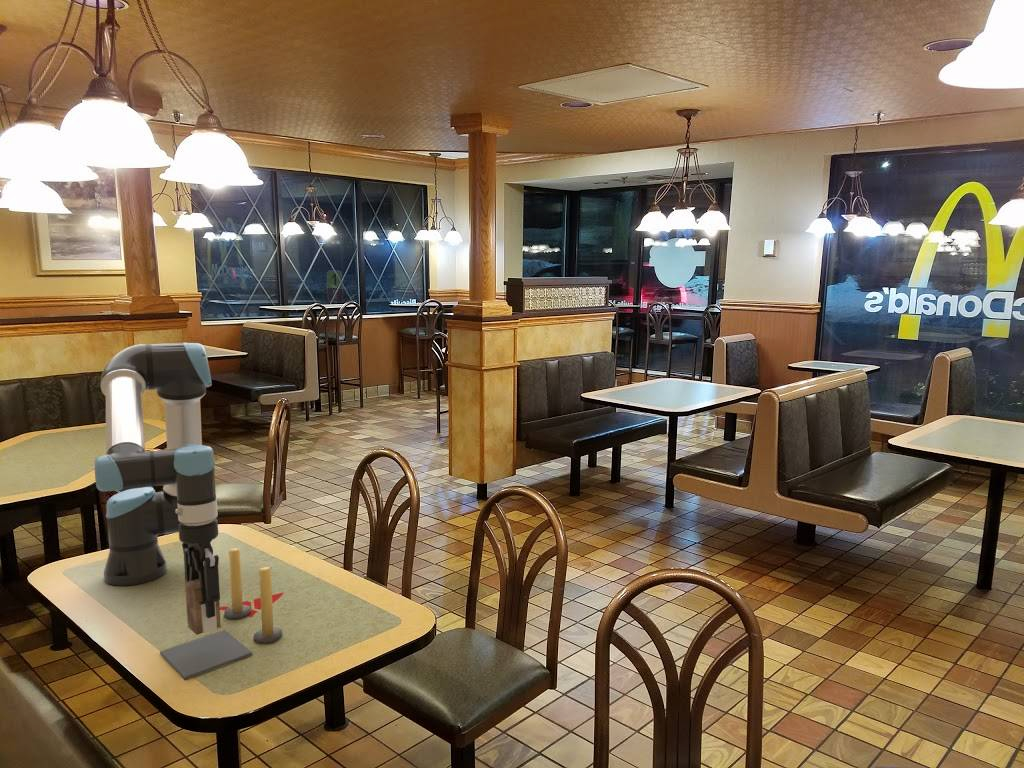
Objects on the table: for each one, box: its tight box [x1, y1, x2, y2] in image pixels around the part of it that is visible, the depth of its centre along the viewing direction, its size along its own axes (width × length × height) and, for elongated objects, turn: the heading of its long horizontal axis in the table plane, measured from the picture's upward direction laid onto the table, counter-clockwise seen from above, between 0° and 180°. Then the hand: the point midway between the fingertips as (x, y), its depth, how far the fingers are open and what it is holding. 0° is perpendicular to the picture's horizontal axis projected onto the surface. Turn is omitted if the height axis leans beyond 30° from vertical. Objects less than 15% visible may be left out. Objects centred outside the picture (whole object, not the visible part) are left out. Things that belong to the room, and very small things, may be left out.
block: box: [184, 579, 222, 636], centre depth 151 cm, size 5×5×10 cm
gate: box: [223, 547, 283, 645], centre depth 164 cm, size 22×6×16 cm, turn 44°
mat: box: [159, 629, 253, 681], centre depth 152 cm, size 14×14×1 cm
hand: (204, 625), depth 151 cm, fingers closed on block, 5 cm apart
